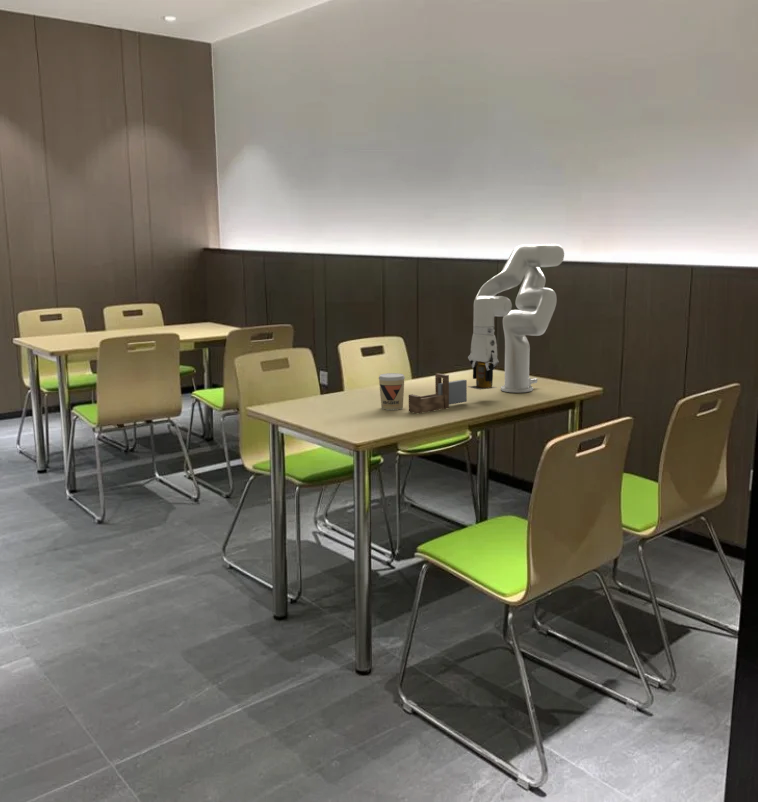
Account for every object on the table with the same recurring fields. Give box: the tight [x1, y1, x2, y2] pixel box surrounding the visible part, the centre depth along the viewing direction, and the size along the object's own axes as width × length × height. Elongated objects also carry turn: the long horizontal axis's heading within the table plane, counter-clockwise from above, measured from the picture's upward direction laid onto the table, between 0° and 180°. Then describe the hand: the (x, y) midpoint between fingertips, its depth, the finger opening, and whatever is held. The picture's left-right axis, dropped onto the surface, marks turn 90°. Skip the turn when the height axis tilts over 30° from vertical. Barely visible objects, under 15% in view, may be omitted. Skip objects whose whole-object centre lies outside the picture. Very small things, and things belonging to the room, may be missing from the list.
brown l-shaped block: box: [408, 372, 450, 414], centre depth 278 cm, size 14×6×12 cm, turn 125°
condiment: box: [467, 360, 497, 391], centre depth 291 cm, size 7×8×12 cm
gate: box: [438, 379, 468, 406], centre depth 285 cm, size 12×2×8 cm, turn 125°
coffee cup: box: [378, 372, 406, 411], centre depth 283 cm, size 9×9×12 cm
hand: (482, 379), depth 292 cm, fingers closed on condiment, 6 cm apart
